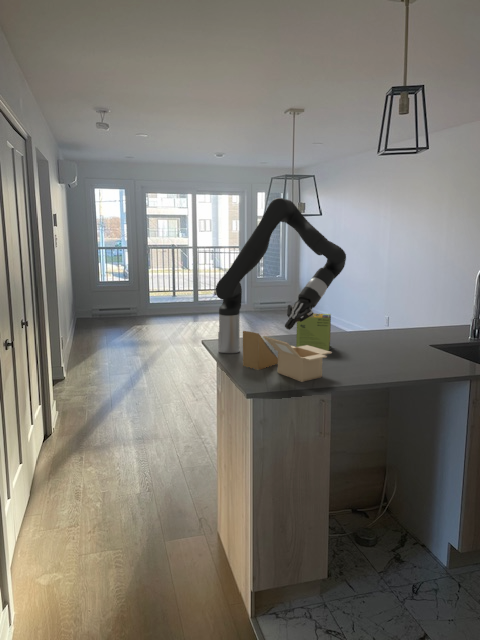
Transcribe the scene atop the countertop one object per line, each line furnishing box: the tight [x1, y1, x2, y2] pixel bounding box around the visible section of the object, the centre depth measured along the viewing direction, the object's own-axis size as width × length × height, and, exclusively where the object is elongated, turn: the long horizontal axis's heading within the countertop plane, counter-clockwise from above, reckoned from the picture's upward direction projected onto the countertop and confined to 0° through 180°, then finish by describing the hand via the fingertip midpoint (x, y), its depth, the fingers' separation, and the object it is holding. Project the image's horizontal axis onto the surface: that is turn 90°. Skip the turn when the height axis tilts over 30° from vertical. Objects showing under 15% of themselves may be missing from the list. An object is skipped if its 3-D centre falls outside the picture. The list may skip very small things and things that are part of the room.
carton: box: [273, 345, 333, 383], centre depth 187 cm, size 20×15×9 cm
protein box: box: [295, 313, 332, 351], centre depth 228 cm, size 10×15×16 cm
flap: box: [263, 335, 301, 358], centre depth 179 cm, size 14×9×1 cm
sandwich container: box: [242, 330, 278, 371], centre depth 200 cm, size 9×15×15 cm, turn 138°
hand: (287, 328), depth 180 cm, fingers closed
